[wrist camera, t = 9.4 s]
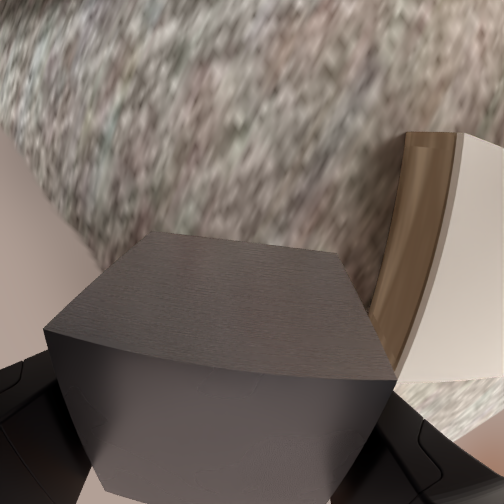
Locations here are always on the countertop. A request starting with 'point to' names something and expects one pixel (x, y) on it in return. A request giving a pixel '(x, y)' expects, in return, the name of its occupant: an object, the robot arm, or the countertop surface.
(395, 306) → the box
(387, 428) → the robot arm
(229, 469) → the block
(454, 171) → the lid
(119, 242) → the countertop surface
